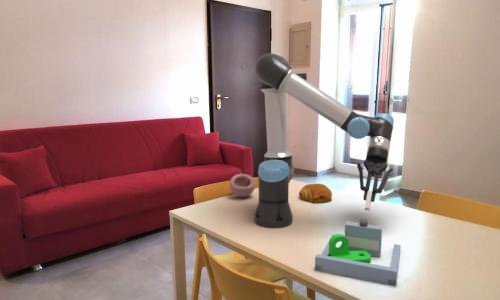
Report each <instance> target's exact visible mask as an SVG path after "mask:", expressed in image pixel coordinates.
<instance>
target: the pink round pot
mask: <svg viewBox="0 0 500 300" xmlns="http://www.w3.org/2000/svg"><path fill="white" fill-rule="evenodd" d="M229 180H230V181H229V189H230V191H231V192H232V194H233V195H234V196H236V197H238V198H247V197H248V196H250V195H252V194H253V192H254V191H255V186H256V183H255V182H256V181H255V179H254V178H253V177H252V175H250V174H245V173H238V174H235V175H233V176H232V177H231V178H230V179H229Z"/></svg>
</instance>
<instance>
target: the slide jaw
mask: <svg viewBox="0 0 500 300" xmlns="http://www.w3.org/2000/svg"><path fill="white" fill-rule="evenodd" d="M343 236H344V237H345V238H346V239H347V240H348V242H349V249H348V251H358V250H366V251H367V252H368V253H369V254H370V255H371V257H377V258H381V254H382V241H383V240H382V239H383V226H382V225H374V224H369V221H368V219H366V218H365V219H364V218H363V219H362V218H361V219H359V222H354V221H345V224H344V235H343Z"/></svg>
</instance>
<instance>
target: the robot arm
mask: <svg viewBox="0 0 500 300" xmlns="http://www.w3.org/2000/svg"><path fill="white" fill-rule="evenodd" d="M254 69H255V70H254V72H255V75H256V78H257V79H258V80H259V81H260V82H259V83H260V91H261V92H262V93H263V94H264V108H265V123H266V124H265V127H266V146H267V147H266V148H267V151H266V153H264V157H263V159H264V161H262V162H261V163H260V164H259V165H258V170H257V175H258V177H257V178H258V202H257V206H256V209H255V212H254V217H253V219H254V223H255V224H256V225H258V226H261V227H264V228H265V227H266V228H273V229H274V228H283V227H284V228H285V227H287V226H290V225H292V224H293V222H294V221H293V220H294V219H293V218H294V215H293V212H292V209H291V206H290V202H289V188H290V187H289V186H290V183H291V180H292V179H293V176H294V173H295V167H294V164H293V154H292V152H290V150H289V139H288V118H287V117H288V116H287V96H286V95H288V96H290V97H292V98H294V99H295V100H297V101H298V102H300V103H301V104H303V105H304V106H306V107H308V108H309V109H310V110H312V111H313V112H314V113H317V115H318V114H319V115H320V116H322V117H323V118H325V119H326V120H327V121H328V122H330V123H331V124H334V125H335V126H337V127H338V128H340V129H341V130H343V131H344V132H346V134H348V135H349V136H350V137H351V138H353V139H356V140H359V139H360V140H361V139H363V138H365V137H369V142H368V146H367V152H366V155H365V157H366V158H365V160H364V161H363V163H357V164H356V166H357V171H358V172H359V174H358V175H359V186H360V190H361V191H363V192H364V193H363V197H362V198H363V201H365V204H364V211H367V212H369V211H370V209H371V204H372V203H374V202H375V199H376V195H377V194H382V192H383V190H384V189H385V186H386V184H387V181H388V179H389V178H390V176H392V175H393V173H394V170H393V168H391V167H389V166H388V158H389V152H390V147H391V142H392V141H391V139H392V135H393V134H392V133H393V130H394V124H395V123H394V122H395V121H394V117H393V116H392V115H391V114H389V113H385V112H383V113H377V114H375V116H373V117H371V116H368V115H365V114H364V115H363V114H360V113H357V112H355V111H354V110H351V108H349V107H348V106H346V105H345V104H343V103H342V102H340V101H338V100H336V99H335V98H334V97H332V96H331V95H329V94H327V93H326V92H324V91H323V90H321V89H320V88H318V87H317V86H315V85H313V84H312V83H310V82H309V81H307V80H306V79H304V78H302V77H301V76H300V75H298V74H296V73H295V71H294V68H293V67H291V66H290V65H289V63H288V60H287V59H285V57H284V56H282V55H280V54H279V55H278V54H276V53H273V52H271V53H265V54H262V55H261V56H260V57H259V58H258V59H257V61H256V63H255V67H254ZM364 169H366V171H367V176H366V181H365V182H366V183H364V171H363V170H364ZM383 172H385V174H384V176H383V177H382V179H381V182H380V183H379V178H380V175H382V173H383ZM373 175H374V180H373V187H372V190H370V187H371V180H372V177H373ZM364 184H365V185H364ZM378 184H379V186H378Z"/></svg>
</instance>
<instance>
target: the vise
mask: <svg viewBox="0 0 500 300" xmlns="http://www.w3.org/2000/svg"><path fill="white" fill-rule="evenodd" d="M333 235H334V234H332V235H331V237H332V236H333ZM331 237H330V238H331ZM400 254H401V244H396V243H395V244H393V248H392V255H391V261H390V266H387V265H386V266H385V265H380V264H374V263H370V264H369V263H364V262H358V261H353V260H347V259H342V258H336V257H330V256H329V241H328V242H327V244H325V247H324V249H323V251H322V252H321V254H320V253H316V255H315V258H314V270H315V271H320V272H325V273H329V274H334V275H340V276H344V277H350V278H354V279H355V278H356V279H360V280H365V281H369V282H374V283H381V284H386V285H391V286H397V280H398V271H399V263H400Z"/></svg>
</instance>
